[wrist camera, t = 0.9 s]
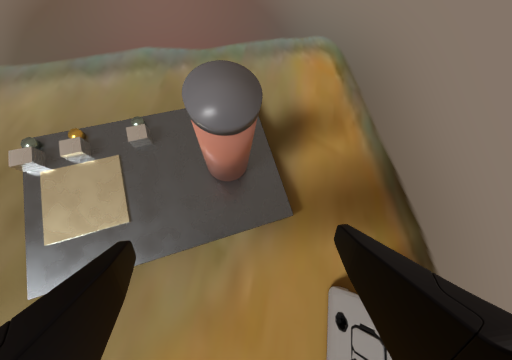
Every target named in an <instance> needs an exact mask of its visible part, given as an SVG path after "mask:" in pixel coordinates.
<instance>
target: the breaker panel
mask: <svg viewBox="0 0 512 360" xmlns="http://www.w3.org/2000/svg"><path fill="white" fill-rule="evenodd" d="M21 147H22V148H21V149H16V150H11V151H9V167H11V168H14V169H17V170H20V171H23V186H24V212H25V239H26V265H27V291H28V300H29V299H32V298H36V297H39V296H42V295H45V294H46V293H48V292H49V291H51V290H52V289H53V288H55V287H56V286H57V285H59V284H60V283H62V282H63V281H64V280H66V279H67V278H69V277H70V276H71V275H73V274H74V273H75V272H77V271H78V270H80V269H81V268H82V267H84V266H85V265H86V264H88V263H89V262H91V261H92V260H93V259H95V258H96V257H98V256H99V255H100V254H102V253H103V252H104V251H106V250H107V249H109V248H110V247H111V246H113V245H114V244H115V243H117V242H119V241H125V240H129V241H131V242H132V245H133V248H134V250H135V253H136V261H135V265H134V266H137V265H140V264H143V263H146V262H149V261H152V260H155V259H159V258H162V257H165V256H168V255H171V254H174V253H177V252H180V251H184V250H187V249H190V248H193V247H196V246H199V245H202V244H206V243H209V242H212V241H215V240H218V239H221V238H224V237H227V236H231V235H234V234H237V233H240V232H243V231H246V230H249V229H253V228H256V227H259V226H262V225H265V224H268V223H271V222H275V221H278V220H281V219H284V218H287V217H290V216H293V212H292V210H291V207H290V204H289V201H288V198H287V195H286V193H285V190H284V187H283V184H282V181H281V178H280V176H279V173H278V170H277V167H276V164H275V161H274V159H273V156H272V153H271V150H270V147H269V144H268V142H267V139H266V136H265V133H264V130H263V127H262V125H261V122H260V119H259V116H258V117H257V122H256V127H255V132H254V136H253V141H252V146H251V151H250V156H249V160H248V165H247V169H246V171H245V173H244V174H243V175H242V176H241V177H240V178H238V179H236V180H233V181H221V180H218V179H216V178H215V177H214V176H212V175H211V173H210V172H209V170H208V168H207V165H206V162H205V159H204V156H203V153H202V150H201V148H200V145H199V142H198V139H197V136H196V133H195V130H194V127H193V125H192V122H191V119H190V117H189V115H188V113H187V110H186V108H185V109H180V110H175V111H169V112H164V113H159V114H154V115H149V116H143V117H134V118H133V119H128V120H123V121H117V122H112V123H107V124H102V125H97V126H91V127H86V128H81V129H77V128H75V129H71V130H70V131H65V132H60V133H55V134H50V135H44V136H39V137H34V138H31V137H27V138H25V139H23V140H22V142H21Z"/></svg>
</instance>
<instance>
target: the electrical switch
mask: <svg viewBox="0 0 512 360" xmlns="http://www.w3.org/2000/svg"><path fill="white" fill-rule="evenodd" d="M327 360H392V359H391V357H390V355H389V353H388V351H387V349H386V347H385V345H384V343H383V341H382V339H381V338H380V336H379V334H378V332H377V330H376V328H375V326H374V324H373V322H372V320H371V318H370V317H369V315H368V313H367V311H366V309H365V307H364V305H363V303H362V301H361V299H360V297H359V296H358V294H356V293H353V292H350V291H348V289H346V288H343V287H340V286H334V287H331V288H330V290H329V298H328V335H327Z"/></svg>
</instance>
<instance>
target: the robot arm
mask: <svg viewBox="0 0 512 360" xmlns="http://www.w3.org/2000/svg"><path fill="white" fill-rule="evenodd" d="M334 242H335V245H336V248H337V250H338V253H339V255H340V258H341V260H342V262H343V265H344V267H345V270H346V272H347V274H348V276H349V278H350V280H351V282H352V284H353V286H354V288H355V290H356V292H357V294H358V296H359V297H360V299H361V301H362V303H363V305H364V307H365V309H366V311H367V313H368V315H369V317H370V318H371V320H372V322H373V324H374V326H375V328H376V330H377V332H378V334H379V336H380V338H381V339H382V341H383V343H384V345H385V347H386V349H387V351H388V353H389V355H390V357H391V359H392V360H512V314H511V313H509V312H507V311H505V310H503V309H501V308H499V307H497V306H495V305H493V304H491V303H489V302H487V301H485V300H483V299H481V298H479V297H477V296H475V295H473V294H471V293H469V292H467V291H465V290H464V289H462V288H460V287H458V286H456V285H454V284H453V283H451V282H449V281H447V280H445V279H443V278H442V277H440V276H438V275H436V274H435V273H432V272H431V271H429V270H428V269H426V268H424V267H422V266H420V265H419V264H417V263H415V262H413V261H412V260H410V259H408V258H406V257H405V256H403V255H401V254H399V253H397V252H396V251H394V250H392V249H390V248H389V247H387V246H385V245H383V244H381V243H380V242H378V241H376V240H374V239H373V238H371V237H369V236H367V235H366V234H364V233H362V232H360V231H358V230H357V229H355V228H353V227H351V226H350V225H348V224H341V225H338V226H337V229H336V233H335V237H334ZM135 261H136V253H135V250H134V248H133V245H132V242H131V241H129V240H125V241H119V242H117V243H115V244H114V245H113V246H111V247H110V248H109V249H107V250H106V251H104V252H103V253H102V254H100V255H99V256H98V257H96V258H95V259H93V260H92V261H91V262H89V263H88V264H86V265H85V266H84V267H82V268H81V269H80V270H78V271H77V272H75V273H74V274H73V275H71V276H70V277H69V278H67V279H66V280H64V281H63V282H62V283H60V284H59V285H57V286H56V287H55V288H53V289H52V290H51V291H49V292H48V293H46V294H45V295H44V296H42V297H41V298H40V299H38V300H37V301H35V302H34V303H33V304H31V305H30V306H28V307H27V308H26V309H24V310H23V311H22V312H20V313H19V314H17V315H16V316H15V317H13V318H12V319H11V321H8V322H6V323H5V324H3V325H2V326H1V327H0V360H101V357H102V355H103V352H104V350H105V347H106V345H107V342H108V340H109V337H110V335H111V332H112V330H113V327H114V325H115V322H116V320H117V317H118V315H119V312H120V310H121V307H122V305H123V302H124V299H125V296H126V293H127V290H128V286H129V283H130V279H131V276H132V272H133V268H134V265H135Z"/></svg>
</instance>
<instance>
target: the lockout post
mask: <svg viewBox="0 0 512 360" xmlns="http://www.w3.org/2000/svg"><path fill="white" fill-rule="evenodd" d="M182 97H183V101H184V104H185V107H186V110H187V113H188V115H189V117H190V119H191V122H192V125H193V127H194V130H195V133H196V136H197V139H198V142H199V145H200V148H201V150H202V153H203V156H204V159H205V162H206V165H207V168H208V170H209V172H210V173H211V175H212V176H214V177H215V178H216V179H218V180H221V181H233V180H236V179H238V178H240V177H241V176H242V175H243V174H244V173H245V171H246V169H247V165H248V160H249V156H250V151H251V146H252V141H253V136H254V132H255V127H256V122H257V117H258V115H259V112H260V107H261V103H262V89H261V85H260V83H259V81H258V80H257V78H256V77H255V75H254V74H253V73H252V72H251V71H250V70H248V69H247V68H245V67H244V66H242V65H240V64H237V63H234V62H230V61H223V60H218V61H211V62H207V63H204V64H202V65H199V66H198V67H196V68H195V69H193V70H192V71H191V72H190V73H189V74H188V76H187V77H186V79H185V81H184V84H183V87H182Z"/></svg>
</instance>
